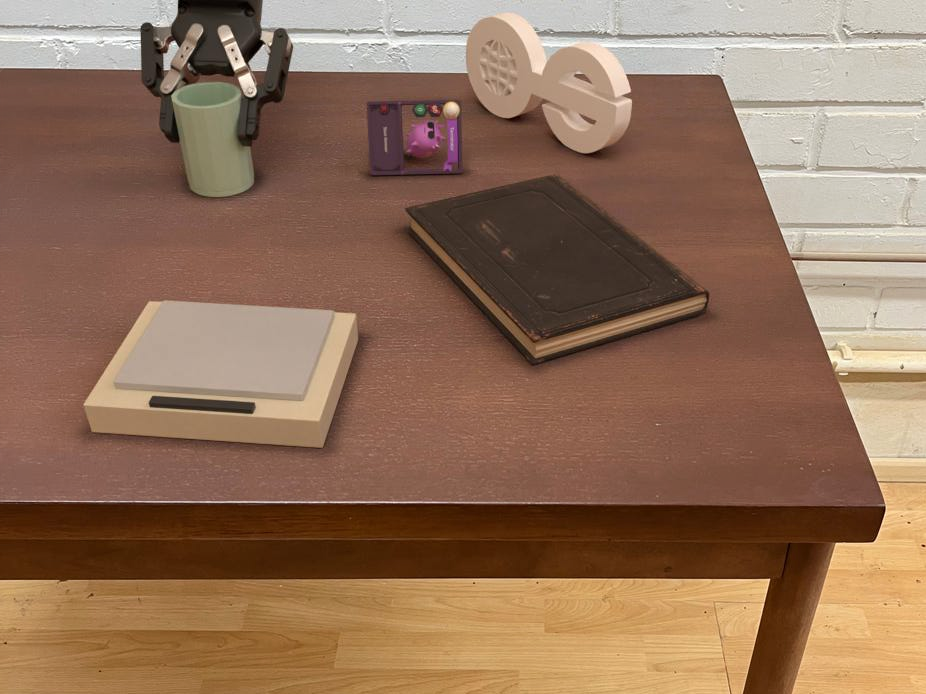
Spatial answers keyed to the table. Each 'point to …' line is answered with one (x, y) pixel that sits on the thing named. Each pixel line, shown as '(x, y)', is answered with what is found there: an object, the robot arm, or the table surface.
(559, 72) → the beige logo cutout
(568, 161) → the table surface
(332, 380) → the scale
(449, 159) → the game card
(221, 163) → the cup
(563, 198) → the hardcover book
